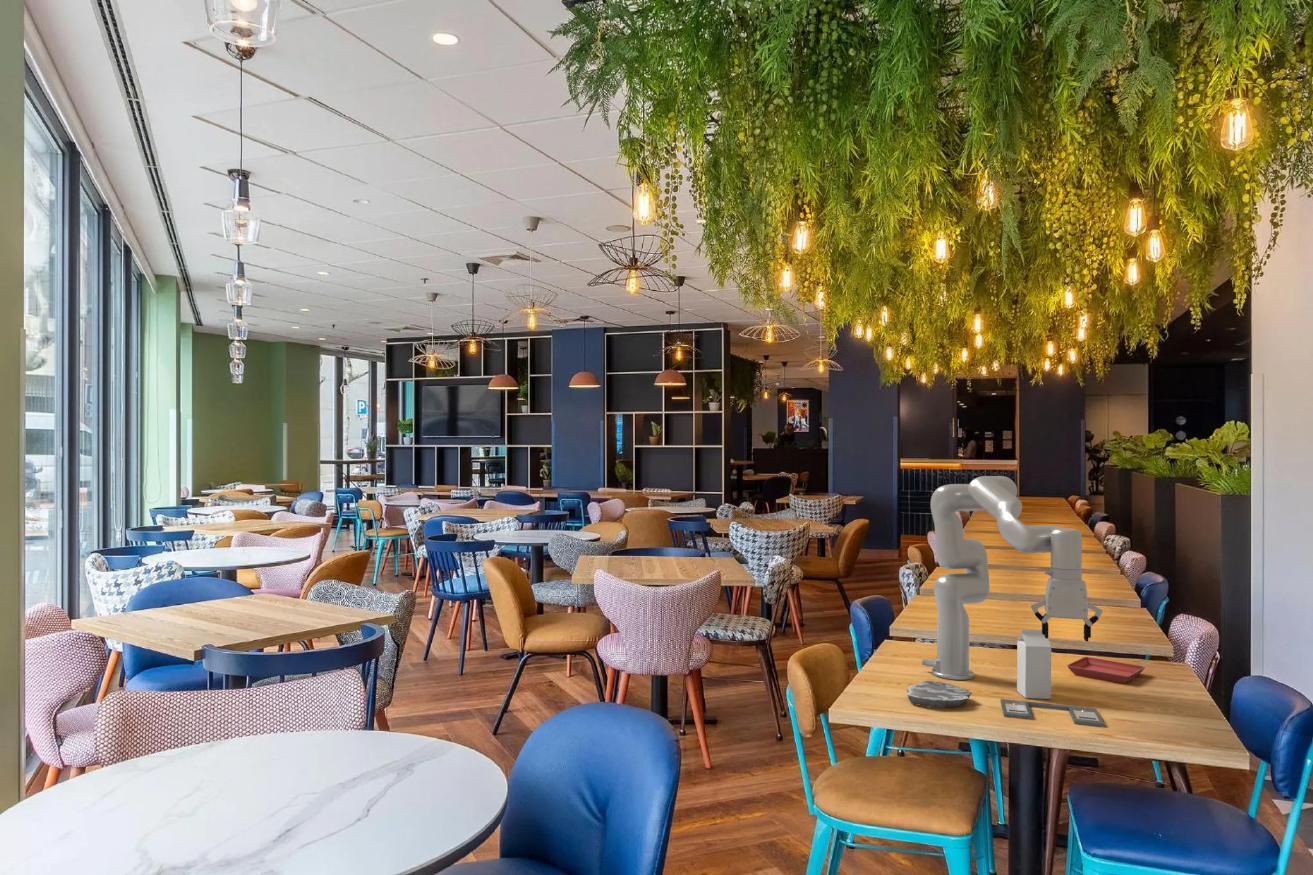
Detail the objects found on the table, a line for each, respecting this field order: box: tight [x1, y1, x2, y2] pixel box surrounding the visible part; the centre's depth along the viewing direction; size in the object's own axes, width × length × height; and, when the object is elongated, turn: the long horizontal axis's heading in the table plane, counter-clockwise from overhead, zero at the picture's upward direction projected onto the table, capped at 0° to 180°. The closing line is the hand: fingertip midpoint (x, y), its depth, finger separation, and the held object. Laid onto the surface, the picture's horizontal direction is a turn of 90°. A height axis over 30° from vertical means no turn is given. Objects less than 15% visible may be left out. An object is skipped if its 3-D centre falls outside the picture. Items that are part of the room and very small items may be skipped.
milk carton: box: [1016, 628, 1052, 700], centre depth 246 cm, size 7×7×19 cm
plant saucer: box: [1066, 656, 1146, 684], centre depth 270 cm, size 18×18×3 cm
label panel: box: [1000, 698, 1106, 728], centre depth 229 cm, size 24×14×1 cm, turn 71°
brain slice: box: [906, 680, 972, 709], centre depth 240 cm, size 20×17×3 cm
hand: (1066, 638), depth 227 cm, fingers open, 9 cm apart
